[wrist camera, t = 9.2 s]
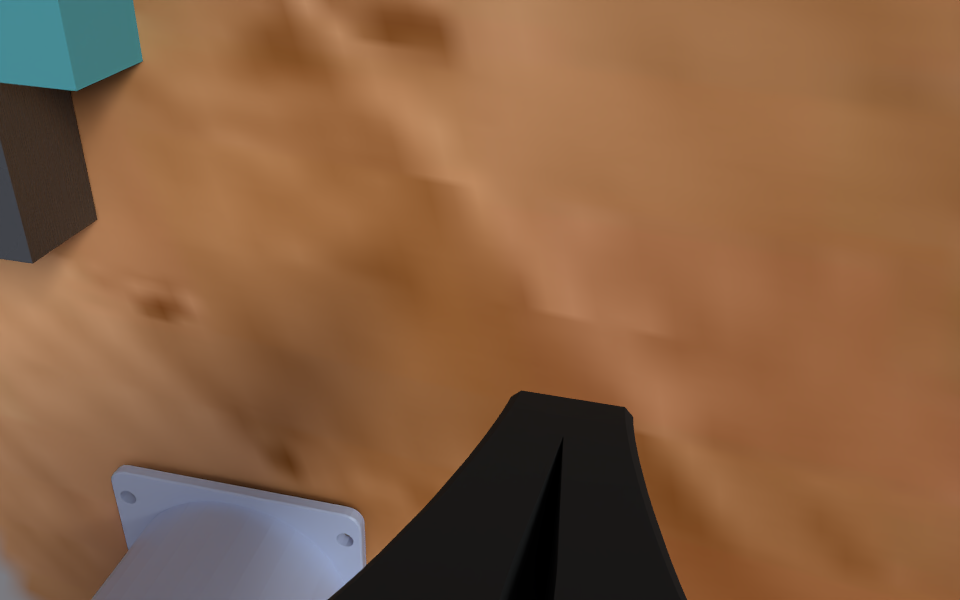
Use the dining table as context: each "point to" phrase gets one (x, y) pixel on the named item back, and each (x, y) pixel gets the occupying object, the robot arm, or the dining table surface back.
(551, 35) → the dining table surface
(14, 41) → the teal t-shaped bar
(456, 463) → the dining table surface
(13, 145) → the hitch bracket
